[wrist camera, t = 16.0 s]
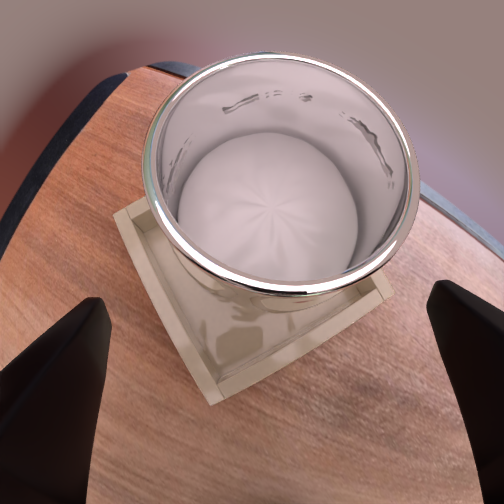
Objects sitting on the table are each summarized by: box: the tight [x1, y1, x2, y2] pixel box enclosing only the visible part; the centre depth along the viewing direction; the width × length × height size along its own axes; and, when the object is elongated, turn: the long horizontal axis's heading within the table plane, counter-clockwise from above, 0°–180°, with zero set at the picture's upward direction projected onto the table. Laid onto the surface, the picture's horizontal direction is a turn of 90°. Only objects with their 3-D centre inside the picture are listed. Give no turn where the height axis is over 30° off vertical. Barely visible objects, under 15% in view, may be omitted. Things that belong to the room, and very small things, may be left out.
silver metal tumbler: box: [141, 51, 420, 316], centre depth 14 cm, size 7×7×15 cm
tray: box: [113, 196, 395, 406], centre depth 20 cm, size 13×13×4 cm
